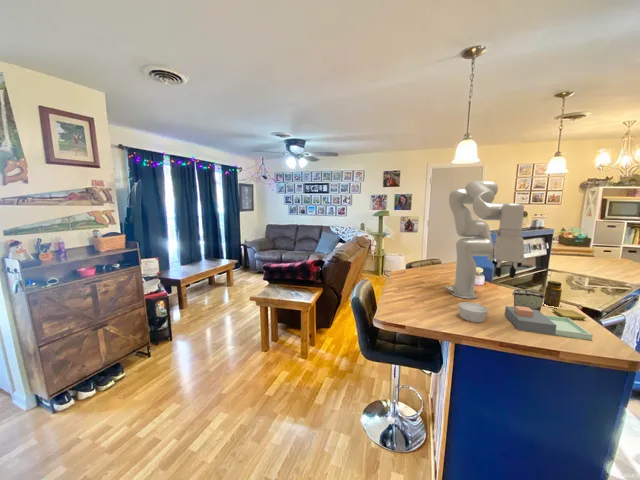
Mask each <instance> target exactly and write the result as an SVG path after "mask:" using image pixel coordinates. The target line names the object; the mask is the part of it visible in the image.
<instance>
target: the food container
mask: <svg viewBox="0 0 640 480" xmlns="http://www.w3.org/2000/svg"><path fill="white" fill-rule="evenodd" d="M511 295H512V296H513V307H515V306H521V307H529V308H530V309H533V310H538V311H540V312H541V310H542V306H543V305H542V303H543V302H544V299H545V293H542V292H540V291H536V290H531V289H525V288H516V289H514V290H513V291H512V293H511Z"/></svg>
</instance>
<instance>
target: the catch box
mask: <svg viewBox="0 0 640 480" xmlns="http://www.w3.org/2000/svg"><path fill="white" fill-rule="evenodd" d="M544 315H545V316H546V317H547V318H548V319H549V320H551V321H552V322H553V323H554V324H556V332H555V335H554V336H557V337H564V338H565V337H566V338H571V339H578V338H581V339H580V340H585V339H589V340H588V341H593V333H591V332H590V331H588V330H586V329H585V328H584V327H582V326H581V325H580V324H578V323H576V322H575V320H573V319H570V318H565V317H561V316H557V315H548V314H544Z"/></svg>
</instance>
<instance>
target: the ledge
mask: <svg viewBox="0 0 640 480" xmlns="http://www.w3.org/2000/svg"><path fill="white" fill-rule="evenodd" d="M531 310H532V311H533V312H534V313H533V317H526V316H518V315H517V314H516V313H515V312H514V306H507V305H506V306H505V308H504V316H505V317H507V319H508V321H510V322H511V323H512V325H513V327H515V329H516V330H518V331H522V332H531V333H538V334H544V335H551V336H556V335H555V332H556V324H554V323H553V322H552V321H551V320H549V319H548V318H547V317H546V316H545V315H546V314H543V313H542V312H541V310H540V311H538V310H533V309H531Z"/></svg>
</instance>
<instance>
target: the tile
mask: <svg viewBox="0 0 640 480" xmlns="http://www.w3.org/2000/svg"><path fill="white" fill-rule="evenodd" d="M513 307H514V306H513ZM514 312H515V313H516V314H517V315H518V316H526V317H533V313H534V312H533V311H532V310H531V309H530V308H529V307H521V306H515V307H514Z"/></svg>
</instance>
